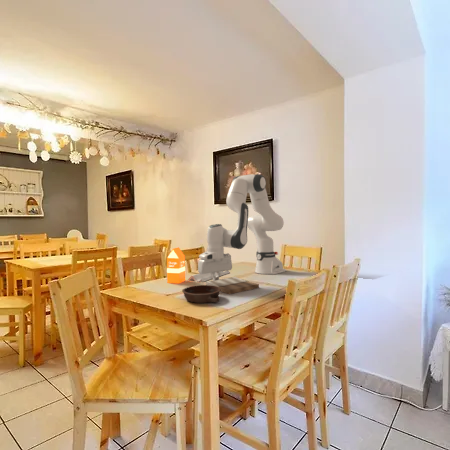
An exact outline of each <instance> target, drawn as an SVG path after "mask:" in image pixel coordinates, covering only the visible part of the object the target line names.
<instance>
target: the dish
mask: <svg viewBox="0 0 450 450" xmlns="http://www.w3.org/2000/svg"><path fill="white" fill-rule="evenodd" d="M181 291H182V293H183V295H184V298H185V300H187V301H188V302H191V303H197V304H208V303H218V302H219V301H220V295H219V294H220V292H221V289H220V288H219V287H217V286H212V285H206V284H199V285H193V286H192V285H191V286H187V287H184V288H183V289H182V290H181Z"/></svg>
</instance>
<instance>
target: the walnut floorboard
mask: <svg viewBox="0 0 450 450" xmlns="http://www.w3.org/2000/svg"><path fill="white" fill-rule="evenodd" d="M219 288H220V289H221V291H220V292H221V293H224V294H227V295H232V294H237V293H241V292H246V291H250V290H255V289H259V288H260V284H259V283H256V282H252V281H248V280H246V282H241V283H236V284H230V285H225V286H220V287H219Z"/></svg>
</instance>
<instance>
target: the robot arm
mask: <svg viewBox="0 0 450 450" xmlns="http://www.w3.org/2000/svg"><path fill="white" fill-rule="evenodd" d="M266 186H267V181H266V177H265V176H264V175H263V174H259V173H257V174H251V173H249V174H244V175H237V176H234V177H233V179H232V180H231V184H230V186H229V189H228V192H227V196H226V206H227V207H228V208H229V209H230V210H231V211H233V212H234V213H237V216H238V217H237V226H236V229H232V230H231V229H226V228H225V227H223V224H221V223H216V224H211V225H209V226H208V227H207V233H206V242H207V249H206V250H207V251H204V252H203V253H201V254H199V255H198V258H199V260H198V265H197V271H198V274H199V273H200V274H207V273H211V275H212V277H213V279H212V281H216V280H219V279H220V277H221V276H220V274H221V271H223V272H225V271H231V270H232V269H233V263H232V255H231V254H230V253H228V252H227V253H225V251H224V250H225V248H230V249H231V248H232V249H238V250H241V249H243V248H244V247H245V246H246V245H247V243H248V230H250V231H251V232H252V233H253V235H254V237H255V240H256V263H255V264H256V265H255V269H254V270H255V271H254V273H256V274H260V275H261V274H262V275H277V274H280V273H284V272H287V269H285V268H284V265H283V262H282V261H281V260H280V259H278V258H277V257H276V256H277V255H279V252H278V251H274V239H272V237H270V236H269V235H267V232H277V231H280V230H282V229H283V227H284V223H285V222H284V218H283V217H282V216H281V215H279V214H278V213H277V212H275V210H274V209H273V208H272V206H271V204H270V200H269V197H268V192H267V189H266ZM248 194H249V197H250V201H251V207H252V209H253V210H254V211H255V212H256V213H258V214H254V215H251V216H249V206H248V204H247V202H246V201H247V198H248V197H247V196H248ZM215 272H216V273H217V275H216V277H215V275H214V274H215Z"/></svg>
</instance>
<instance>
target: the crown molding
mask: <svg viewBox="0 0 450 450" xmlns="http://www.w3.org/2000/svg"><path fill="white" fill-rule="evenodd" d="M230 273H231V272H230V270H228V271H221V274H220V276H219V277H222V276H224V275H228V274H230ZM214 275H215V277H216V275H217V273H216V272H215V274H214ZM211 280H213V277H212V275H211V273H207V274H200V273H199V272H198V273H197V274H192V275H190V277H189V278H188V279H187V281H194V282H199V283H200V282H202V283H204V282H207V281H211Z"/></svg>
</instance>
